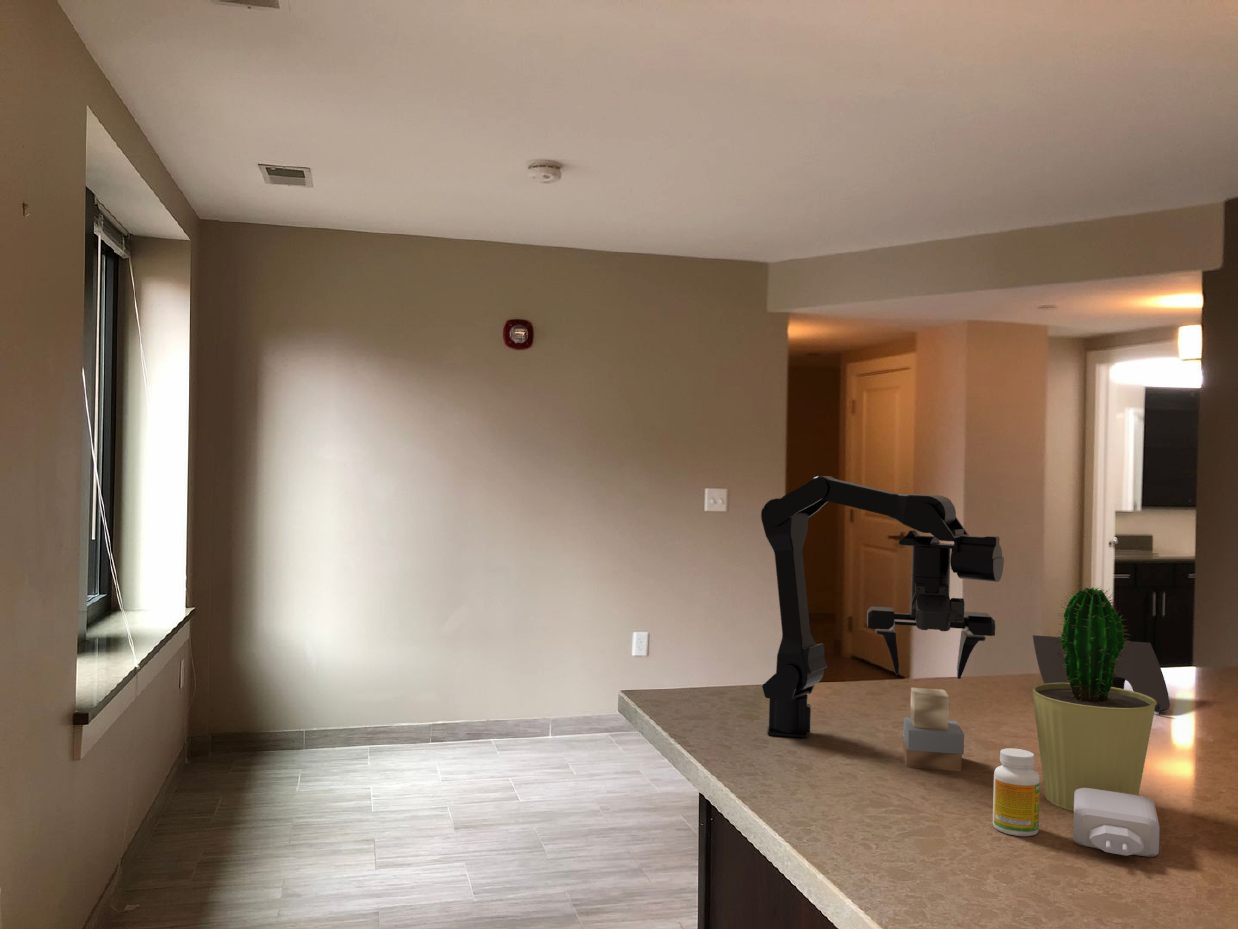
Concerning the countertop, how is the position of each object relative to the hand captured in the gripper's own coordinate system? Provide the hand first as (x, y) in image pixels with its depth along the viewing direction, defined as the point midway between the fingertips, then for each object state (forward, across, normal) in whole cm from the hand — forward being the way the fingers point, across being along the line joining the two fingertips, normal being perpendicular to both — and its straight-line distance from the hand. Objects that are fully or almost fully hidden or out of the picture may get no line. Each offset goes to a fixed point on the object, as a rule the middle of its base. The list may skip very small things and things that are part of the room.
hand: (927, 676), depth 156 cm
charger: (+13, +19, -31) cm, 39 cm away
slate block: (+10, +1, -1) cm, 10 cm away
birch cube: (+7, 0, -1) cm, 7 cm away
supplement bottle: (+13, +8, -29) cm, 33 cm away
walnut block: (+13, +1, -1) cm, 13 cm away
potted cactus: (+13, +20, -15) cm, 28 cm away
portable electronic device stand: (+13, +38, +53) cm, 67 cm away
